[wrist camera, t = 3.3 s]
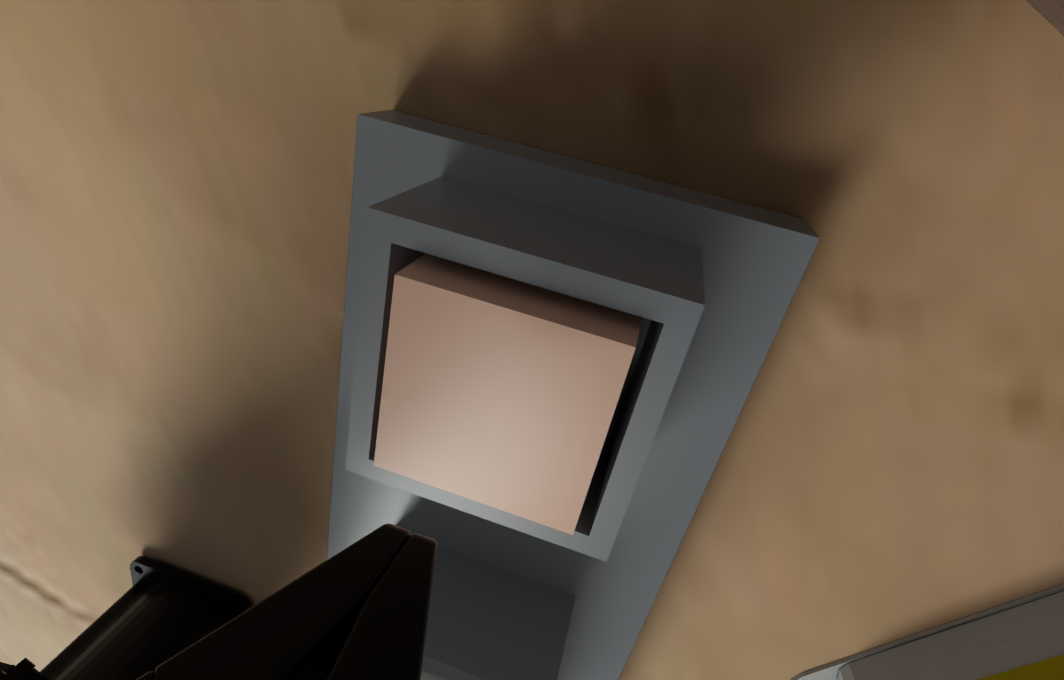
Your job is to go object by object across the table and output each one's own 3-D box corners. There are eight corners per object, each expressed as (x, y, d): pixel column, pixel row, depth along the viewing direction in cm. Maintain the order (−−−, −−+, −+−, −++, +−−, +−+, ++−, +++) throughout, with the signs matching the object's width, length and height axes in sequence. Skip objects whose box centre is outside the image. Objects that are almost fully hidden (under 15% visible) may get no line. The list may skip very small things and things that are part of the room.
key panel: (345, 606, 27) (261, 735, 22) (392, 109, 17) (258, 126, 12) (593, 701, 26) (568, 866, 20) (805, 219, 16) (864, 294, 10)
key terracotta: (423, 403, 17) (373, 465, 14) (449, 237, 14) (394, 274, 12) (592, 459, 16) (572, 535, 13) (646, 295, 14) (635, 347, 11)
